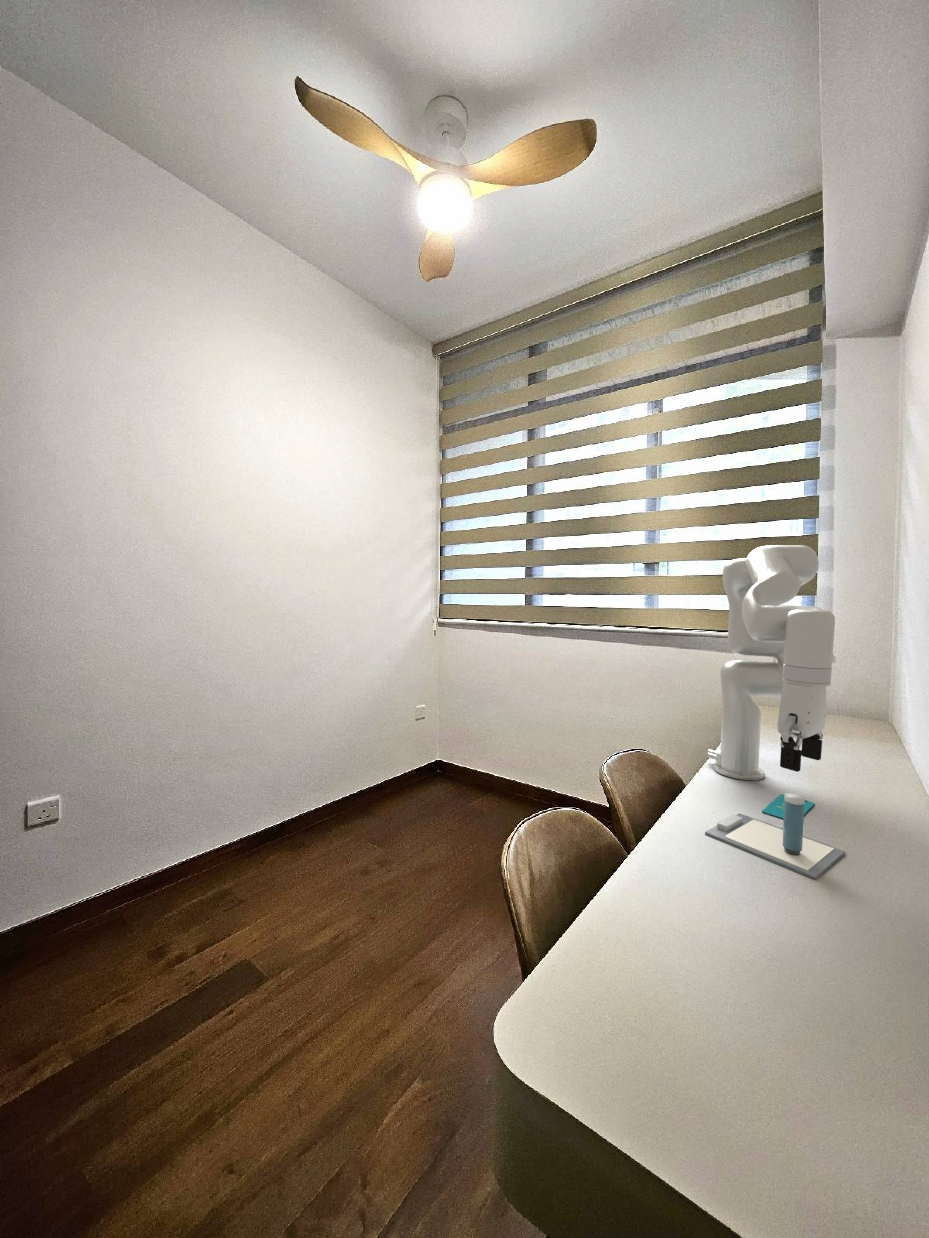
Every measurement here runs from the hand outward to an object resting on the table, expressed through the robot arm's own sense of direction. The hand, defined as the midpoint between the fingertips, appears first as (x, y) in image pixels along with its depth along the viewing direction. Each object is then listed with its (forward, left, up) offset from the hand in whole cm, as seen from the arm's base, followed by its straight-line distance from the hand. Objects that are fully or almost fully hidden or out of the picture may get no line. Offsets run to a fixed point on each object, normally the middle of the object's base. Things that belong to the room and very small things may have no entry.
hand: (800, 763), depth 95 cm
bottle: (0, 0, -18) cm, 18 cm away
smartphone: (-10, +23, -19) cm, 31 cm away
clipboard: (-5, +2, -18) cm, 19 cm away
